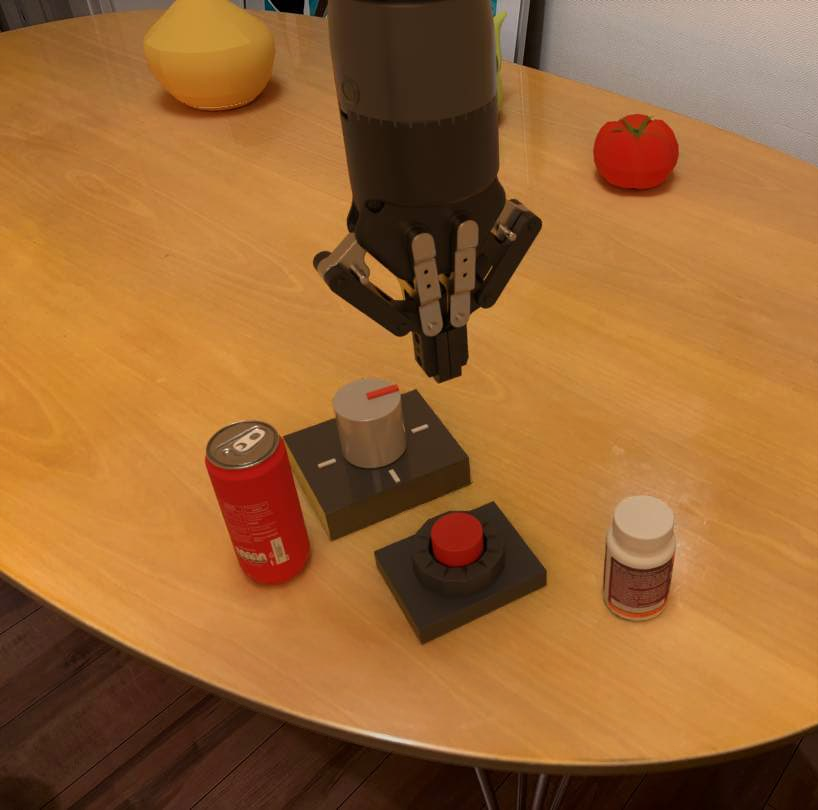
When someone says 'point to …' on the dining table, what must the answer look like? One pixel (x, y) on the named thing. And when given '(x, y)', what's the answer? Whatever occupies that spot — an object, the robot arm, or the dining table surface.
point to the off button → (457, 539)
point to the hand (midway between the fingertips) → (442, 372)
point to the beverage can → (258, 500)
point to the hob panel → (377, 470)
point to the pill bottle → (639, 558)
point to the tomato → (635, 151)
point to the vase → (210, 54)
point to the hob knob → (370, 422)
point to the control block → (459, 575)
